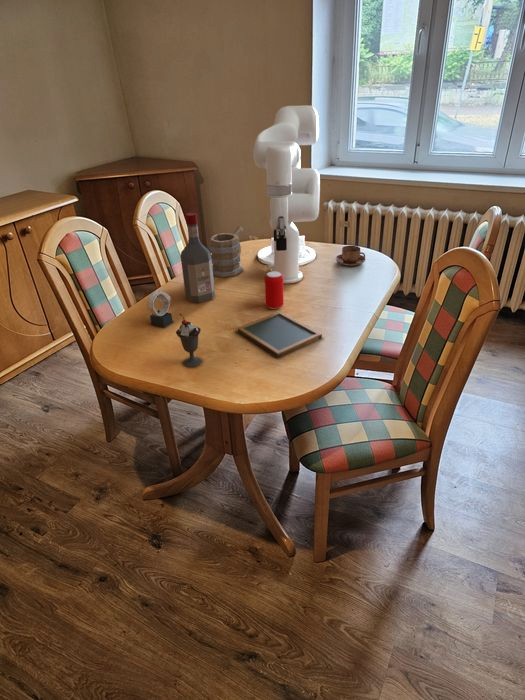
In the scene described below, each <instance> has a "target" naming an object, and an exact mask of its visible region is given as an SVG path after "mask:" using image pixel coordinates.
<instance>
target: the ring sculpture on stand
mask: <svg viewBox="0 0 525 700" xmlns="http://www.w3.org/2000/svg"><path fill="white" fill-rule="evenodd" d="M156 299H158V300H159V301H161V303H162V307H161V309H159V310H157V309H156V308H155V305H154V304H155V300H156ZM171 299H172V298H171V296H170V295H169V294H168V293H166V292H165V291H163V290H155V291H153V292H152V293H150V295H149V297H148V301H147V307H148V311H149V312H150V315H149V320H150V325H152V326H156V327H159V328H166V327H167V326H169V325H171V324H173V323H174V320H173V313H171V312H168V311H169V309H170V304H171Z"/></svg>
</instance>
